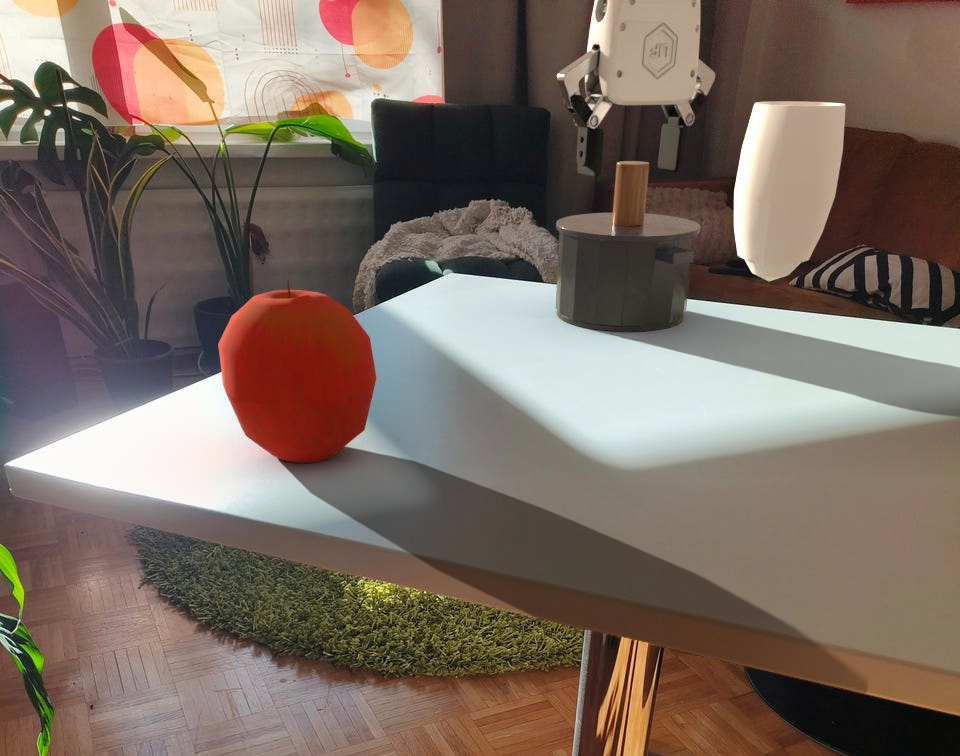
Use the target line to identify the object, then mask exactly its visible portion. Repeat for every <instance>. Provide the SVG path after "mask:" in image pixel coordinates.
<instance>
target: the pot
mask: <svg viewBox="0 0 960 756" xmlns="http://www.w3.org/2000/svg"><path fill="white" fill-rule="evenodd" d="M558 235H559V236H558V249H557V250H558V251H557V272H556V273H557V275H556V290H555V291H556V292H555V294H556V295H555V309H556V316H557V317H558V318H559V319H560V320H561V321H563V322H565V323H567V324H570V325H573V326H576V327H581V328H585V329H590V330H597V331H607V332H623V333H625V332H629V333H630V332H631V333H632V332H633V333H635V332H637V333H638V332H652V331H659V330H664V329H669V328H673V327H675V326H677V325H679V324H682V323H683V321H684V319H685V314H686V312H687V304H688V298H689V297H688V296H689V289H690V282H691V281H690V280H691V272H692V266H693V263H694V257H695V251H694V250H695V241H696V236H693V237H690V238H685V239H679V240H671V241H658V242H619V241H604V240H594V239H586V238H580V237H575V236H571V235H567V234H564V233H562V232H560V231H558Z"/></svg>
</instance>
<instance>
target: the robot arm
mask: <svg viewBox="0 0 960 756" xmlns="http://www.w3.org/2000/svg"><path fill="white" fill-rule="evenodd" d="M593 4H594V5H593V9H592V14H591V20H590V26H589V33H588V39H587V40H588V41H587V49H586V53H584V54H583V55H582V56H580V57H579V58H577V59H576V60H574V61H572V62H571V63H569V64H568V65H567V66H566V67H564V68H562V69H561V70H560V71H559V72H558V73H557V75H556V79H557V84H558V87H559V89H560V90H559V91H560V93H561V95H562V98H563V105H564V107H565V108H566V110H567V112H568V113H569V115H570V116H571V118H572V120H573V121H572V122H573V125H574V126H576V127H577V129H578V131H577V132H578V133H577V145H576V163H577V173H578V174H580V175H584V176H589V177H599V176H600V175H601V173H602V164H603V152H604V139H605V137H604V136H605V131H604V128H599V127H600V124H601V122H602V121H603V120H604V118H605V117H606V115H607V114H608V112H609V111H610V109H611V108H612V106H613V105H614V104H616V105H619V106H660V107H661V109H662V111H663V113H664V115H665V117H666V119H667V123H663V124H662V127H661V132H660V133H661V134H660V141H659V143H660V144H659V152H658V159H657V167H658V169H659V170H663V171H666V172H667V171H668V172H673V173H680V172H681V171H682V170H683V163H684V158H685V152H686V143H687V136H688V127H690V126H692V125H693V124H694V122H695V118H696V117H695V116H696V115H697V114H698V113H699V112H700V111H701V109H702V108H703V107H704V105H705V104H706V100H707V99H706V98H707V97H706V96H708V94H709V92H710V90H711V88H712V86H713V84H714V83H715V79H716V72H715V71H714V70H713V69H712V68H710V67H709V66H708V65H707V64H706V63H705V62H703V60H701V59H700V58H699V55H700V41H701V0H594V3H593ZM583 78H584V91H585V96H586V97H585V98H584V97H583V95H582V94H581V92H580V91H581V89H580V81H581V80H582V79H583Z"/></svg>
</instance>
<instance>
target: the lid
mask: <svg viewBox="0 0 960 756" xmlns="http://www.w3.org/2000/svg"><path fill="white" fill-rule="evenodd" d="M615 167H616V168H615V180H614V191H613V203H612V204H613V205H612V212H594V213H593V212H592V213H582V214H581V213H580V214H574V215H569V216H564V217H562V218H559V219H558V220H556V221H555V229H556V230H557V232H559V231H560V232H562V233H564V234H567V235H571V236H575V237H580V238H586V239H594V240H604V241H619V242H658V241H671V240H679V239H685V238H690V237H693V236H695V237H696V236H698V235H699V234H700V233H701V227H702V226H701V224H699V222H696V221H695V220H691V219H688V218H685V217H678V216H674V215H673V216H672V215H667V214H666V215H665V214H657V213H646V204H647V194H648V182H649V171H650V162H648V161H642V160H641V161H639V160H624V161H623V160H621V161H617V162H616V166H615Z"/></svg>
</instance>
